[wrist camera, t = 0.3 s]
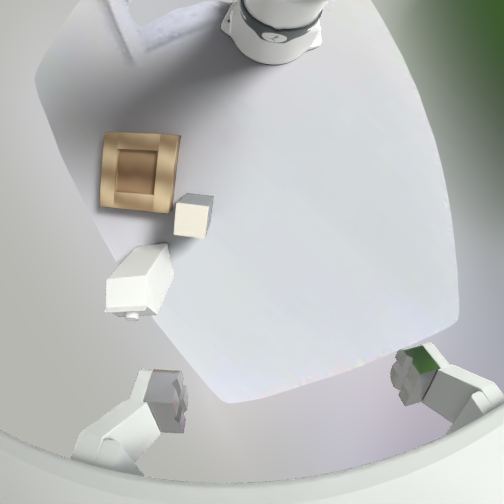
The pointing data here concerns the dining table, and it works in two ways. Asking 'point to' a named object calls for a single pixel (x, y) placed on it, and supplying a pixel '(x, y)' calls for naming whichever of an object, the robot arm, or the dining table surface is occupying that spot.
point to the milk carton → (140, 282)
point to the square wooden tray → (139, 171)
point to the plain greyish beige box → (193, 215)
